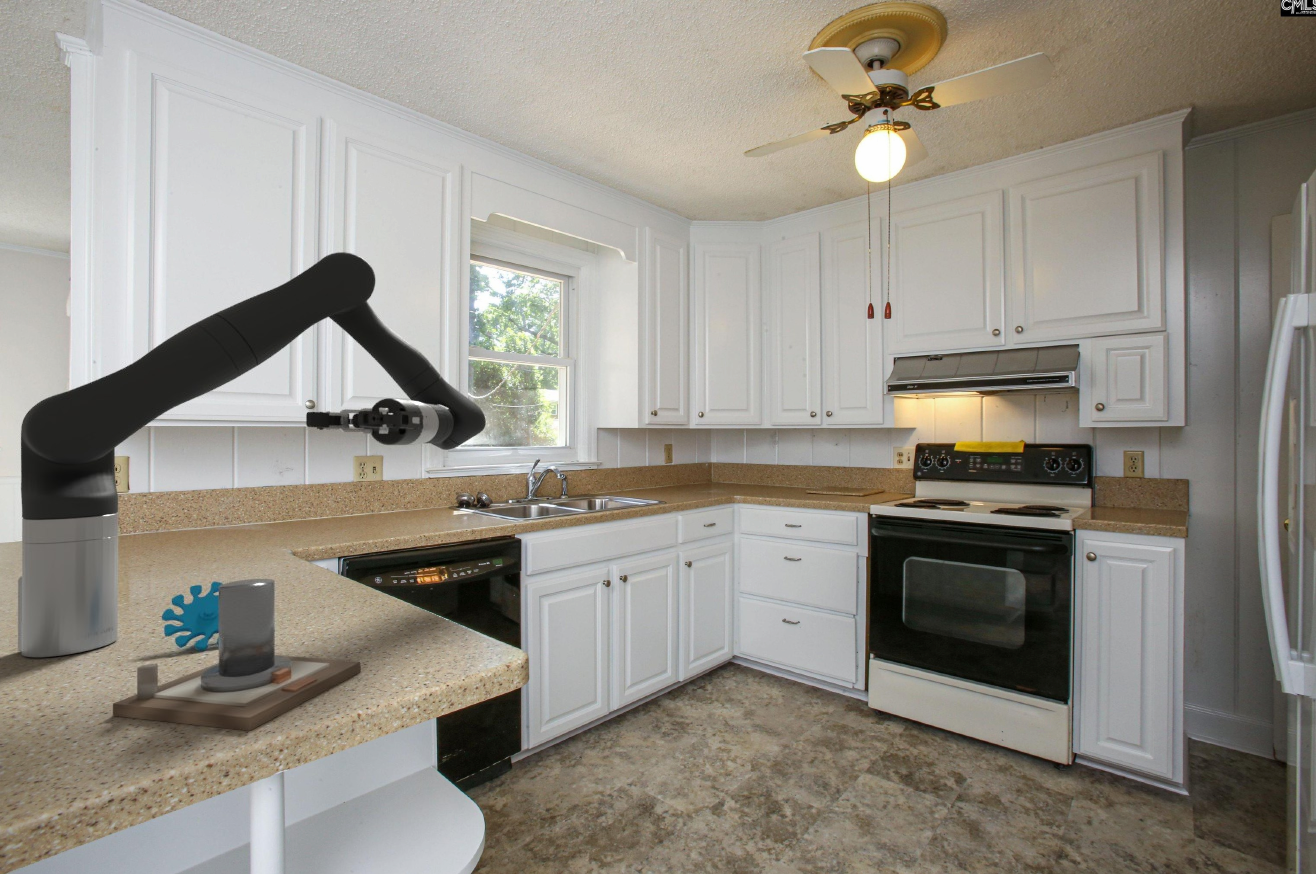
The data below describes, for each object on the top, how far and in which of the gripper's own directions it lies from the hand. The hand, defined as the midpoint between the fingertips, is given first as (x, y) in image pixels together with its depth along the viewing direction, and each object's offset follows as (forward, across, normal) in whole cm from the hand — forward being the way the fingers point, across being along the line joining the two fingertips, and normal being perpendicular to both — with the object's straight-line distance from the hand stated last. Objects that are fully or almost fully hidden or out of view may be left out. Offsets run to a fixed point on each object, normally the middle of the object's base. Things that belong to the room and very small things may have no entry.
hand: (334, 418), depth 88 cm
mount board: (+20, +6, +30) cm, 37 cm away
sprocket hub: (+20, +6, +28) cm, 35 cm away
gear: (+7, -13, +30) cm, 34 cm away
